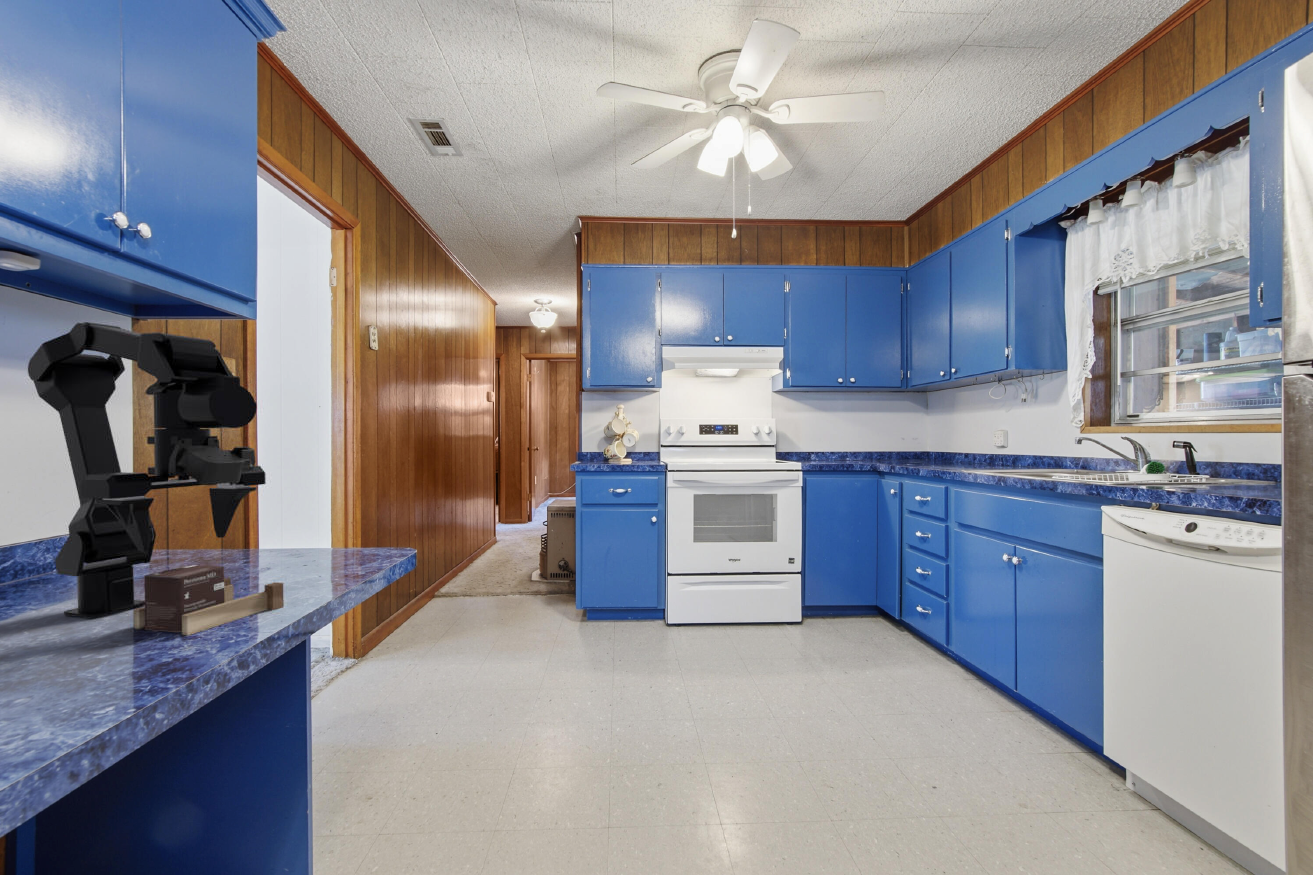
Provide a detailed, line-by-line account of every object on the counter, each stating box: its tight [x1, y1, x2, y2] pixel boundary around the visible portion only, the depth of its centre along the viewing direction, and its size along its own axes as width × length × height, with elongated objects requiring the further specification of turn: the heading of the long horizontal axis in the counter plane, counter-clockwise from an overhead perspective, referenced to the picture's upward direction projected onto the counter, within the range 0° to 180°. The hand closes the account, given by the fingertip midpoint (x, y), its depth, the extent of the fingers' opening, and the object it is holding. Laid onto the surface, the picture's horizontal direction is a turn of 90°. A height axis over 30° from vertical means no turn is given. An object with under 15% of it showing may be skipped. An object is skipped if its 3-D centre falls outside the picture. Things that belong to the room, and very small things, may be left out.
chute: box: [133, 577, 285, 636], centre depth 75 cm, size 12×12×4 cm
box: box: [143, 564, 225, 633], centre depth 72 cm, size 6×6×7 cm
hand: (184, 543), depth 72 cm, fingers open, 9 cm apart
